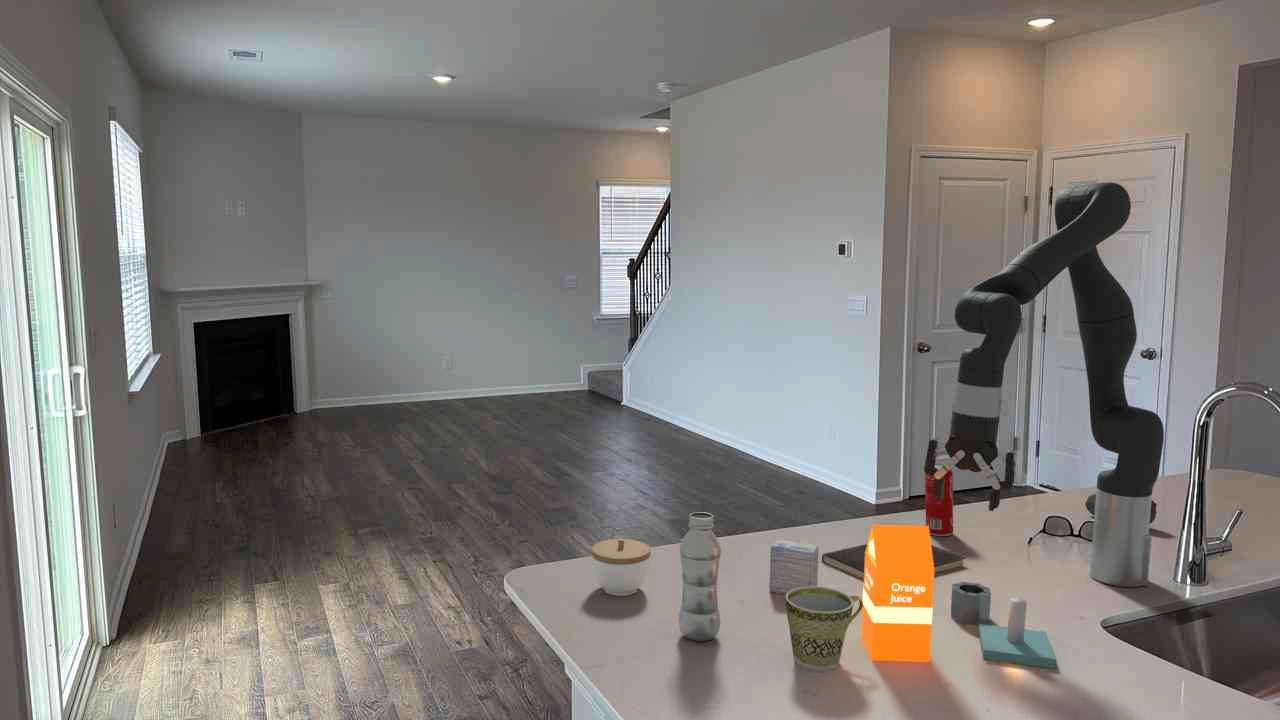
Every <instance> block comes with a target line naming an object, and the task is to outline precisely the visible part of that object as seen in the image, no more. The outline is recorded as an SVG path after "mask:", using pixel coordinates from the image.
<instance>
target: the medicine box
mask: <svg viewBox="0 0 1280 720" xmlns="http://www.w3.org/2000/svg"><path fill="white" fill-rule="evenodd" d="M819 548H820V547H819V546H818V545H816V544H810V543H809V544H808V543H802V542H797V541H796V542H795V541H789V540H781V539H777V540H776V541H775V542H774V543H773V544H772V545H771V546H770V556H769V557H770V559H769V566H770V567H769V592H772V593H778V594H784V595H786V594H787V593H788V592H789V591H791V590H793V589H795V588H800V587H809V586H815V587H819V586H818V584H819V583H818V581H819V579H818V577H819V575H818V574H819V550H820V549H819Z"/></svg>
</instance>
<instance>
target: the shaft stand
mask: <svg viewBox="0 0 1280 720" xmlns="http://www.w3.org/2000/svg"><path fill="white" fill-rule="evenodd" d="M1027 604H1028V603H1027V600H1026V599H1023V598H1021V597H1011V598H1009V608H1008V620H1007V621H1008V622H1007V623H1008V624H1007V626H1003V625H1002V626H1001V625H994V624H987V623H985V624H979V625H978V638H979V644H980V649H981V655H982V659H983V660H987V661H993V662H994V661H995V662H1001V663H1008V664H1009V663H1011V664H1017V665H1025V666H1031V667H1038V668H1039V667H1040V668H1047V669H1056V668H1055V667H1056V666H1055V665H1056V657H1055V655H1054V652H1053V648H1052V645H1051V643H1050V640H1049V637H1048V634H1047V632H1046V631H1042V630H1033V629H1025V628H1026V627H1025V626H1026V617H1027V616H1026V615H1027Z"/></svg>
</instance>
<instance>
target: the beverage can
mask: <svg viewBox="0 0 1280 720" xmlns="http://www.w3.org/2000/svg"><path fill="white" fill-rule="evenodd" d="M943 465H944V464H941V463H939V464H936V463H935V467H936V468H937V469H940V468H941V467H942V466H943ZM944 478H945V484H944V493H943V499H942V500H941V501H937V500H936V497H934V495H933V490H934V481H935V479H934V477H933V476H932V475H930V474H927V473H925V472H924V485H925V487H924V490H925V491H924V492H925V502H924V503H925V526H929V532H930V536H935V537H947V536H951V535H952V534H953V533H954V472H953V470H952V468H951V469H950V470H949V471H948V472H947V473H946V474H945V475H944Z"/></svg>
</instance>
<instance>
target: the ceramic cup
mask: <svg viewBox="0 0 1280 720" xmlns="http://www.w3.org/2000/svg"><path fill="white" fill-rule="evenodd" d="M784 598H785V609H786V615H787V616H786V617H787V621H788V626H789V636H790V642H791V648H792V655H793V662H794V663H795V664H796V665H797V666H799V667H800V668H801V669H803V670H805V671H811V672H816V673H825V672H831V671H835V670H837V669H838V666H839V663H840V660H841V655H842V650H843V646H844V641H845V638H846V633H847V630H848V628H849V626H850V624H851V623H852V621H853V620H855V618H856V617H858V616H859V615H860V614H861V612H862V610H863V598H861V597H859V596H857V595H851V596H850V595H848V594H847V593H845V592H843V591H840V590H837V589H835V588H831V587H826V586H818V587H815V586H809V587H800V588H795V589H793V590H791V591H789V592H788V593H787V594H785V596H784ZM857 601H858V603H859V606H858V609H857V610H856V611H854V613H853V608H854V603H855V602H857Z"/></svg>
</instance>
